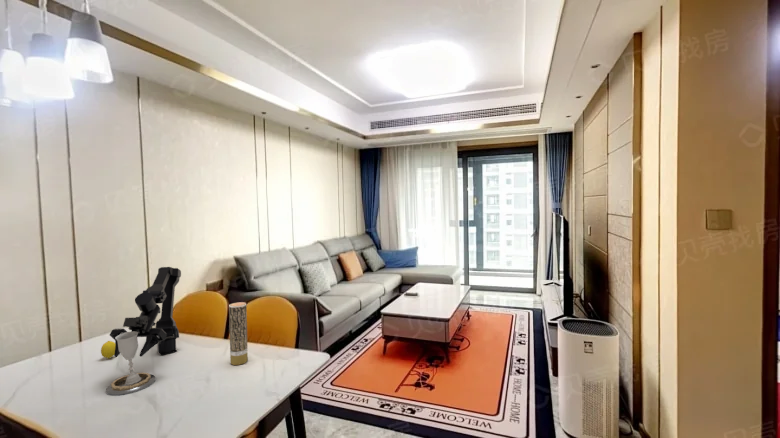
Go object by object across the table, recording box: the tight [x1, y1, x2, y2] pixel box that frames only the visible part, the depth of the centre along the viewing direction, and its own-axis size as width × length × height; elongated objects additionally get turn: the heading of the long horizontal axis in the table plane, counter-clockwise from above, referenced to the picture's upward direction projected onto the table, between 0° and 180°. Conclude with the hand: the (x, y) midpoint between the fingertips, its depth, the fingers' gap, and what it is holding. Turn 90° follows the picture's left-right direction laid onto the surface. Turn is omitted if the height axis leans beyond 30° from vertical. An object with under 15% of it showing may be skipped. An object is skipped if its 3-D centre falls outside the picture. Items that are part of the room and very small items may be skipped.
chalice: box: [115, 330, 141, 385], centre depth 131 cm, size 7×7×18 cm
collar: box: [105, 372, 157, 396], centre depth 131 cm, size 15×15×2 cm
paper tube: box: [228, 301, 249, 366], centre depth 150 cm, size 7×7×25 cm
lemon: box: [100, 340, 115, 359], centre depth 156 cm, size 6×6×8 cm
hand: (127, 356), depth 130 cm, fingers open, 9 cm apart
